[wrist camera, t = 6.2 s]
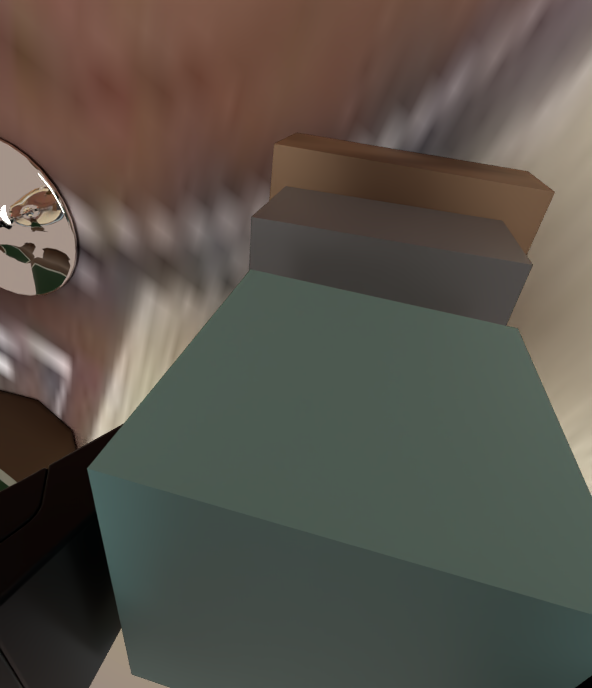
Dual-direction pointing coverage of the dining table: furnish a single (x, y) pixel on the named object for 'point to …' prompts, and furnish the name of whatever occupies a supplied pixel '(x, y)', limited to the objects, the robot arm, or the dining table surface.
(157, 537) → the teal cube
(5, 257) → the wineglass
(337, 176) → the walnut slab
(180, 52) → the dining table surface
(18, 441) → the beer bottle
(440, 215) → the charcoal block
